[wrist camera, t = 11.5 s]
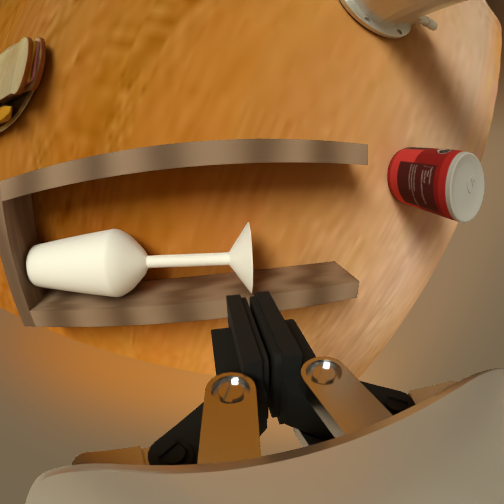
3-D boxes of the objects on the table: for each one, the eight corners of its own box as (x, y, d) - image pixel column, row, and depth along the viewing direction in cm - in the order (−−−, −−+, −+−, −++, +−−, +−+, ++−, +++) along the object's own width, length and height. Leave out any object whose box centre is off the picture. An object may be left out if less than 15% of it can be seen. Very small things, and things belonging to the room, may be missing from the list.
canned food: (432, 173, 32) (490, 185, 21) (406, 215, 33) (465, 238, 23) (404, 134, 29) (468, 136, 19) (375, 178, 30) (440, 191, 20)
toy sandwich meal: (-9, 57, 14) (-27, 51, 10) (61, 32, 17) (45, 18, 13) (-26, 141, 18) (-47, 142, 14) (40, 126, 21) (18, 123, 16)
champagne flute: (246, 257, 30) (59, 264, 28) (247, 207, 26) (38, 223, 24) (251, 308, 25) (41, 307, 23) (254, 257, 21) (12, 266, 19)
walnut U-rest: (338, 145, 28) (367, 144, 23) (333, 276, 33) (356, 297, 28) (18, 179, 22) (-12, 185, 16) (44, 301, 27) (24, 326, 22)
